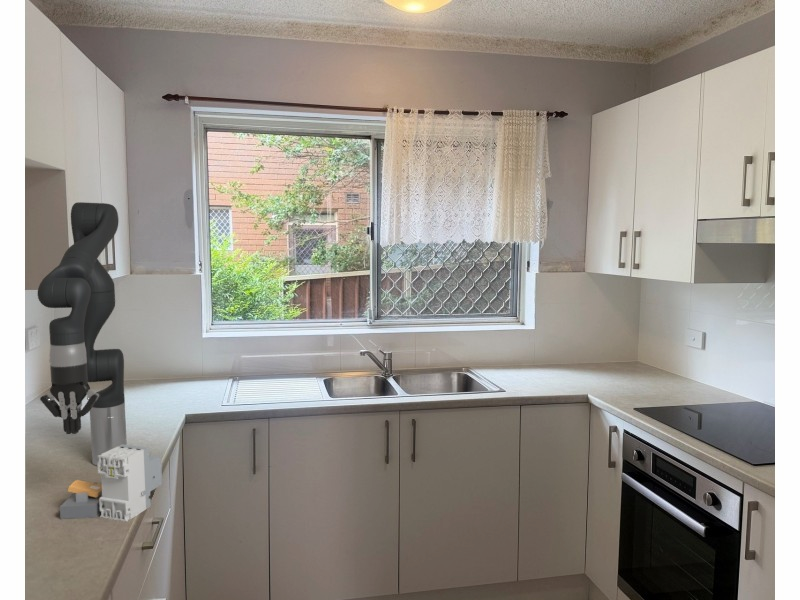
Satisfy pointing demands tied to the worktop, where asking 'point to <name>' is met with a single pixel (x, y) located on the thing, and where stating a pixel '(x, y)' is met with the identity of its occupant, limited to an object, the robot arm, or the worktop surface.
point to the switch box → (80, 506)
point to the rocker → (85, 488)
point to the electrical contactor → (127, 481)
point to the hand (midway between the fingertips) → (72, 432)
